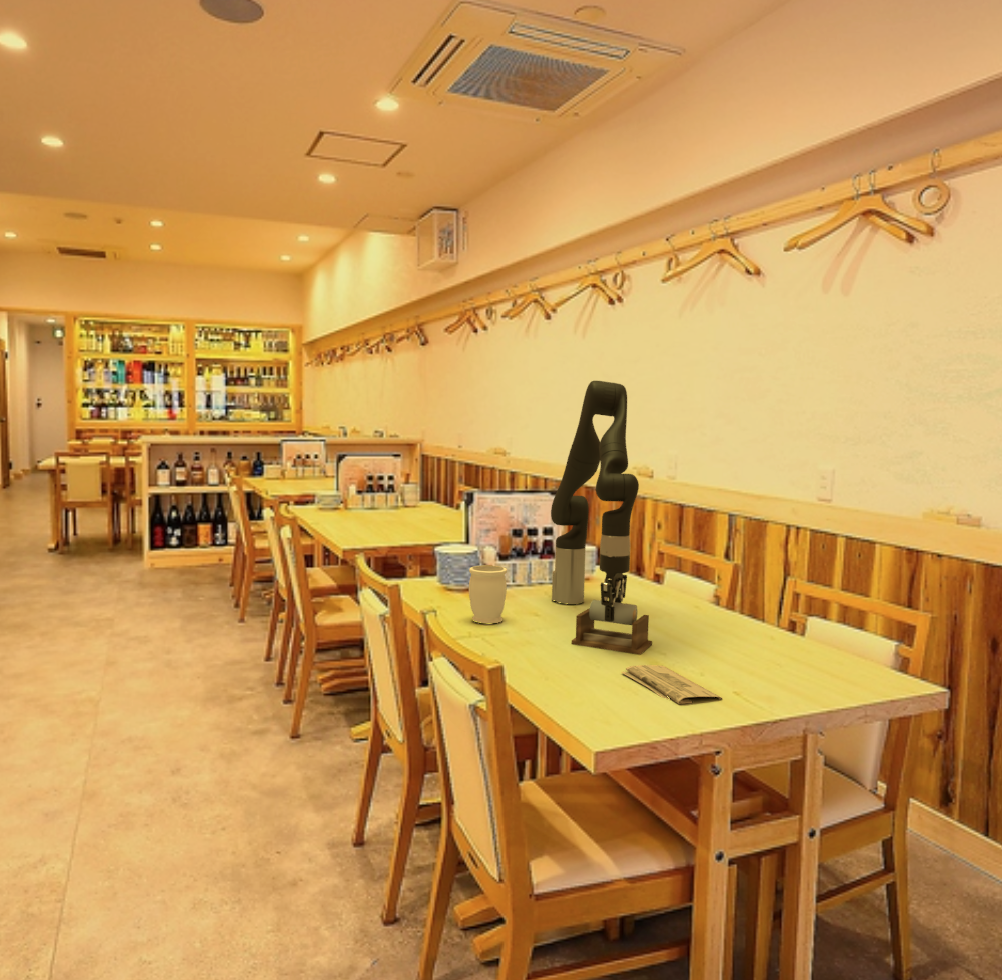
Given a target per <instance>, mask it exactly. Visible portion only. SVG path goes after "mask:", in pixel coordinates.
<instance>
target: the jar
mask: <svg viewBox="0 0 1002 980" xmlns="http://www.w3.org/2000/svg"><path fill="white" fill-rule="evenodd" d="M468 572H469V573H470V577H469V583H468V598H469V605H470V609H471V612H472V614H473V616H472V618H471V620H472V619H473V620H474V621H477V622H481V623H497V624H499V623H498V622H500V623H502V622H503V618H502V613H503V611H504V609H505V603H506V599H507V594H508V593H507V589H508V587H507V586H508V585H507V580H506V574H507V573H508V568H506V567H504V566H497V565H474V566H471V567H469V569H468ZM501 621H502V622H501Z"/></svg>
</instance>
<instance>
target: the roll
mask: <svg viewBox="0 0 1002 980" xmlns="http://www.w3.org/2000/svg"><path fill="white" fill-rule="evenodd" d="M589 608H590V609H589ZM589 608H588V609H589V616H590V619H591V620H594V621H596V622H597V621H599V622H603V623H613V624H619V625H626V626H632V623H633V622H635V621H636V620H638V606H637V605H636V604H632V603H626V602H625V603H623V602H622V603H617V602H615V606H614V621H612V622H609V621H605V606H604V605H602V604H601V599H592V600H591V602H590V605H589Z"/></svg>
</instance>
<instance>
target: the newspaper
mask: <svg viewBox="0 0 1002 980" xmlns="http://www.w3.org/2000/svg"><path fill="white" fill-rule="evenodd" d="M620 673H621V674H622V675H625V676H627V677H628V678H630V679H633V680H634V681H635V682H637V683H639V684H640V685H643V686H644V687H647V688H648V689H649V690H651V691H652V692H653V693H655V694H657V695H658V696H659V697H661V698H663V699H665V698H666V700H668V699H669V698H671V699H670V700H669V701H671V700H672V701H671V702H675V703H677V704H678V705H685V704H693V703H692V701H693V700H692V699H690V698H702V697H703V698H715V697H717V698H719V699H718V700H720V699H722V700H723V697H722V696H720V695H718V694H716V693H714V692H712V691H711V690H709V689H707V688H705V687H704V686H702V685H699V684H697V683H696V682H694V681H692V680H691V679H688V678H686V677H685V676H683V675H681V674H679V673H678V672H676V671H674V670H672V669H670V668H668V667H667V666H664V665H659V664H658V665H655V664H653V665H652V664H641V665H640V664H639V665H629V666H627V667H625V671H621V672H620ZM667 696H668V697H669V698H668V697H667ZM717 698H716V699H717ZM689 699H690V700H689Z"/></svg>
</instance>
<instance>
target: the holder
mask: <svg viewBox="0 0 1002 980" xmlns="http://www.w3.org/2000/svg"><path fill="white" fill-rule="evenodd" d="M589 609H590V607H589V608H587V609H585V610H583V611H582V612H580V613H578V614H576V618H575V619H576V620H575V623H576V624H575V625H576V626H575V637H574V638H573V639H572V640H571V645H577V646H582V647H589V648H595V649H601V650H608V651H613V652H614V651H615V652H620V653H626V654H627V653H628V654H632V655H633V654H634V655H639V656H640V655H642V654H643V653H644V652H645V651H646V650H647V649H649V648H650V647H651V646H652V644H653V640H649V621H650V618H649V616H650V615H649V614H643V615H642V616H640V617H639V618H637V620H636V621H635V622H633V623H632V625H631V633H627V632H622V631H621V632H620V631H615V630H607V629H602V628H601V629H600V628H595V620H591V619H590V616H589Z"/></svg>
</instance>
